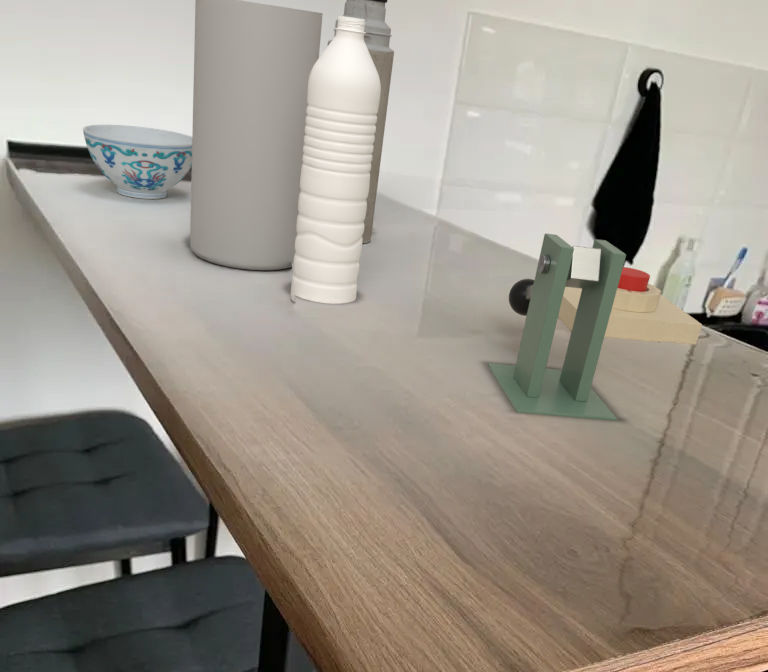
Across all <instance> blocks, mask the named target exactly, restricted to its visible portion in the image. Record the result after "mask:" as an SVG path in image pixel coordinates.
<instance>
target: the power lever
mask: <svg viewBox="0 0 768 672" xmlns="http://www.w3.org/2000/svg"><path fill="white" fill-rule="evenodd" d="M571 246H572V247H573V248H574V252H573V256H572V260H571V265H570V269H569V273H568V277H567V281H566V286H565V287H572V288H581V289H584V288H586V287H588V286H590V285H592V284H594V283H596V282H598V281H599V270H600V258H601V249H597V248H592V247H589V246H578V245H571ZM534 280H535V279H532V278H523V279H520V280H518V281H517V282H516V283H514V284H513V285H512V286H511V288H510V291H509V293H508V303H509V306H510V308H511V310H513V312H515V313H516V314H518V315H519V316H525V317H526V316H527V312H528V307H529V303H530V298H531V294H532V289H533V285H534Z"/></svg>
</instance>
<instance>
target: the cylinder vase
mask: <svg viewBox="0 0 768 672" xmlns="http://www.w3.org/2000/svg"><path fill="white" fill-rule="evenodd" d="M194 2H195V3H194V11H195V12H194V44H193V45H194V46H193V48H194V50H193V52H194V53H193V88H192V89H193V92H192V93H193V94H192V95H193V97H192V98H193V99H192V130H191V131H192V132H191V133H192V135H191V137H192V166H191V179H190V180H191V181H190V222H189V223H190V224H189V226H190V227H189V228H190V229H189V247H190V249H191V251H192V252H193V253H194V255H195V256H196V257H198V258H200V259H202V260H204V261H206V262H209V263H212V264H215V265H219V266H223V267H228V268H232V269H239V270H248V271H249V270H250V271H278V270H279V271H280V270H284V269H289V268H293V261H294V255H295V253H296V251H295V239H296V236H297V232H296V224H297V217H298V214H299V211H298V200H299V194H300V192H301V189H300V176H301V168H302V164H303V161H302V157H303V154H304V152H303V146H304V145H305V143H304V136H305V135H306V134H305V126H306V122H305V120H306V116H307V113H306V108H307V106H308V103H307V94H308V80H309V76H310V73H311V70H312V68H313V66H314V64H315V63H316V61H317V60H318V59H319V57H320V48H321V37H322V27H323V15H324V14H323V13H322V12H318V11H317V12H316V11H311V10H306V9H305V10H304V9H298V8H292V7H285V6H279V5H273V4H266V3H261V2H254V1H247V0H195V1H194Z"/></svg>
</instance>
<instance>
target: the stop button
mask: <svg viewBox="0 0 768 672" xmlns="http://www.w3.org/2000/svg"><path fill="white" fill-rule="evenodd" d="M650 278H651V275H650V274H649V273H647V271H643V270H641V269H637V268H633V267H627V266H623V269H622V273H621V276H620V280H619V284H618V288H620V289H624V290H629V291H637V292H646V289H647V286H648V284H649V282H650Z"/></svg>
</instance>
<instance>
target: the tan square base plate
mask: <svg viewBox="0 0 768 672" xmlns="http://www.w3.org/2000/svg"><path fill="white" fill-rule="evenodd" d="M581 292H582V289H581V288H572V287H565V290H564V294H563V298H562V302H561V307H560V311H559V315H558V318H559V319H560V321H562V323H563V324H564V325H565V326H566V327H567V328H568V329H569V330H570V331H571V332H572V328H573V324H574V320H575V316H576V312H577V308H578V304H579V300H580V296H581ZM702 327H703V324H702V323H701V322H699V321H698V320H697V319H695V318H694V317H693V316H691V315H690V314H689V313H687V312H686V311H684V310H683V309H681V308H680V307H679V306H677V304H675V303H674V302H672V301H670V300H669V299H668V298H667V297H666V296H664V295H662V290H661V289H659V288H658V287H656V286H655V285H653V284H650V283H648V286H647V289H646V292H637V291H629V290H624V289H620V288H617V291H616V295H615V299H614V303H613V306H612V310H611V314H610V317H609V321H608V325H607V329H606V332H605V336H604V338H611V339H622V340H630V341H631V340H632V341H640V342H641V341H642V342H651V343H652V342H653V343H661V342H662V343H663V342H664V343H675V344H684V345H694V346H696V345H697V342H698V340H699V337H700V333H701V330H702Z"/></svg>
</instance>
